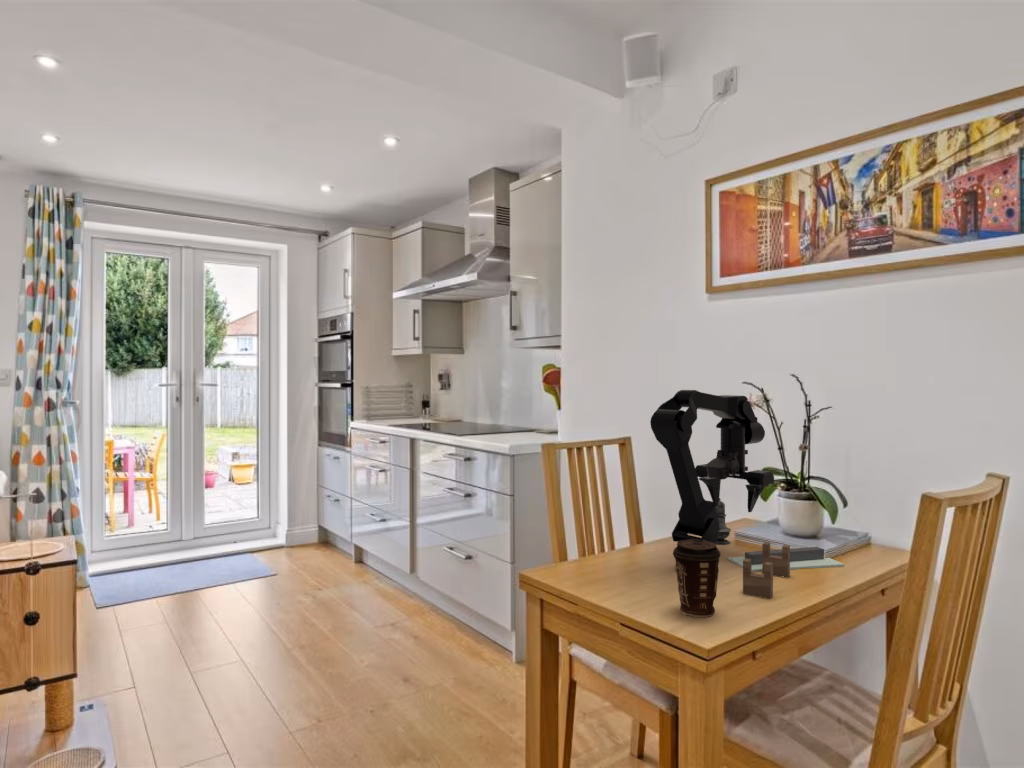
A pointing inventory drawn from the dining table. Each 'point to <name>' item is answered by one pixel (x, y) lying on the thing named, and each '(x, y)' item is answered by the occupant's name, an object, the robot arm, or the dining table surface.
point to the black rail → (795, 554)
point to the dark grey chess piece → (722, 525)
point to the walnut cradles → (765, 571)
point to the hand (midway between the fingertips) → (732, 509)
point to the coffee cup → (697, 576)
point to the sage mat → (794, 563)
